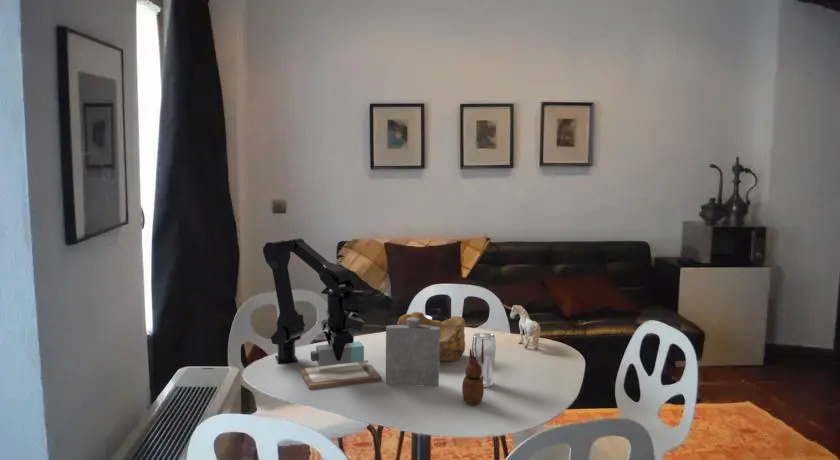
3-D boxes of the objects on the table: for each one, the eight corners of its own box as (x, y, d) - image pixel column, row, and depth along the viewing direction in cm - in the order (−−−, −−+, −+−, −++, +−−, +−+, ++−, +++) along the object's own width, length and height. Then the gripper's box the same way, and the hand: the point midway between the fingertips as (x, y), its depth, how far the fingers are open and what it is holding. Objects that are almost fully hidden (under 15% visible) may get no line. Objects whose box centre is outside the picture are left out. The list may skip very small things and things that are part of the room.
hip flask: (384, 385, 197) (385, 319, 194) (386, 380, 201) (387, 316, 198) (438, 387, 196) (439, 321, 193) (438, 382, 200) (440, 317, 197)
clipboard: (299, 371, 207) (299, 364, 207) (366, 363, 215) (367, 357, 215) (309, 389, 192) (309, 382, 192) (381, 380, 200) (381, 373, 200)
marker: (309, 361, 206) (309, 346, 206) (359, 356, 212) (359, 341, 211) (313, 366, 202) (313, 351, 201) (363, 361, 207) (363, 346, 207)
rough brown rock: (393, 370, 212) (395, 326, 209) (396, 349, 228) (398, 308, 225) (465, 374, 212) (468, 330, 208) (463, 353, 228) (466, 312, 224)
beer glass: (493, 389, 195) (494, 339, 193) (469, 387, 196) (471, 338, 194) (495, 380, 201) (496, 333, 199) (472, 378, 203) (473, 331, 201)
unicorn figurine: (514, 336, 248) (515, 301, 246) (551, 350, 232) (553, 313, 230) (499, 339, 244) (500, 303, 242) (536, 353, 228) (537, 316, 226)
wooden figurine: (460, 398, 188) (461, 346, 186) (480, 397, 188) (482, 346, 186) (464, 407, 181) (465, 354, 179) (484, 407, 181) (486, 354, 179)
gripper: (370, 314, 199) (369, 364, 201) (354, 300, 216) (354, 346, 218) (333, 317, 195) (333, 368, 197) (320, 302, 212) (320, 349, 214)
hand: (336, 357), depth 207 cm, fingers closed on marker, 5 cm apart
